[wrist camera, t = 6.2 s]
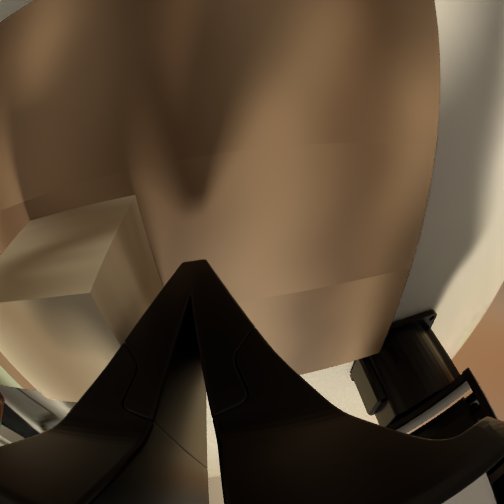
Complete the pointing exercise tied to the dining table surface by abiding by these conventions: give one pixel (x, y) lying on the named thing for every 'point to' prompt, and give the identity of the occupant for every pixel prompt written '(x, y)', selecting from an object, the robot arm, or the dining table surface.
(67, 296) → the birch cube
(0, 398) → the food container
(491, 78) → the dining table surface
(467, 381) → the robot arm
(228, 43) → the board
